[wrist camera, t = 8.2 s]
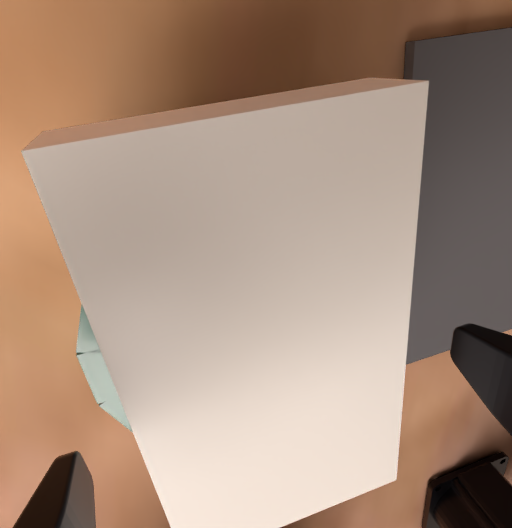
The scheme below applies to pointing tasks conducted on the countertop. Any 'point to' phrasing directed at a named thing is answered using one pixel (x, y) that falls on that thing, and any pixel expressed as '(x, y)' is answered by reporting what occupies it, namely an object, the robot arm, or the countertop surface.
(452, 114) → the mat
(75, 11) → the countertop surface
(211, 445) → the white rectangular block
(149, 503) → the countertop surface
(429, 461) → the countertop surface
